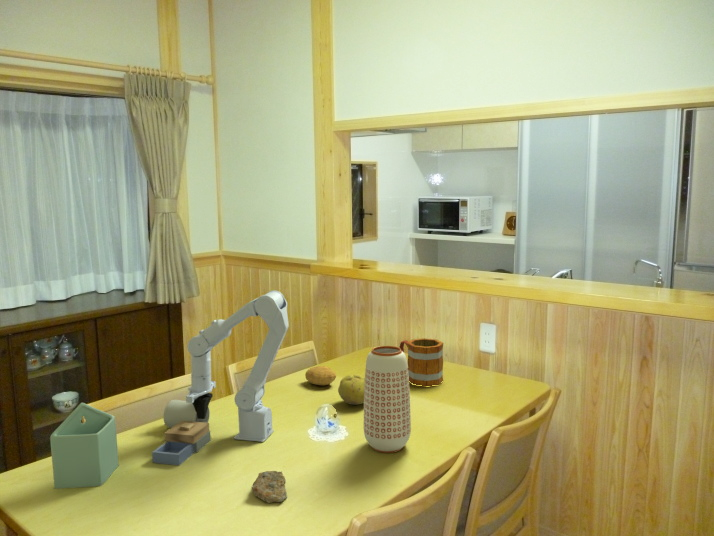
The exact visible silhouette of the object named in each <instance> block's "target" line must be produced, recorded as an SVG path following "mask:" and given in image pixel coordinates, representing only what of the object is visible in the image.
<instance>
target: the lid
mask: <svg viewBox="0 0 714 536" xmlns="http://www.w3.org/2000/svg"><path fill="white" fill-rule="evenodd" d="M209 431H210V423H209V422H208V423H204V422H192V421H180V422H179V423H177V424H176V425H174V426H173V427H172V428H169V429H168V430H166V431H165V432H164V442H166V441H170V442H180V443H191V444H194V443H195V442H197V441H198V440H199V439H200V438H201V437H203V436H204V435H205V434H206V433H207V432H209Z"/></svg>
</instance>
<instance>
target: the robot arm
mask: <svg viewBox="0 0 714 536" xmlns="http://www.w3.org/2000/svg"><path fill="white" fill-rule="evenodd" d="M258 316H259V317H260V318H261V319H262V320H263V321H264V322H265V324H266V325H267V327H268V329H269V330H268V332H267V333H266V335H265V336H266V337H265V339H264V341H263V343H262V345H261V348H260V350H259V353H258V354H257V357H256V359H255V361H254V363H253V366H252V368H251V370H250V373H249V376H248V377H247V378H246V380H245V382H244V384H243V385H242V387H241V389H240V390H238V391H237V392H236V393H235V395H234V403H235V406H236V407H237V409H238V410H237V412H238V433H237V434H236V435H235V436H234V437H233V439H234V440H241V441H249V442H250V441H251V442H260V443H261V442H262V443H263V442H265V441H266V440H267V439H268V438H269V437H270V435H271V434H273V432H274V429H273V411H272V409H271V408H270V407H267V406H264V405H263V401H262V399H263V397H264V396H265V391H266V390H265V385H266V383H267V377H268V375H269V372H270V371H271V367H272V366H273V364H274V361H275V359H276V357H277V354H278V352H279V351H280V348H281V345H282V344H283V341H284V339H285V336H286V335H287V331H288V329H289V323H290V322H289V318H288V317H289V316H288V302H287V299H286V298H285V296H284V294H283V293H282V292H280V291H279V290H269V291H267V293H265V294H262V295H260V296H259V297H256V298H255V299H253V300H251V301H248V302H247V303H246V304H244V305H242V306H241V307H240V308H239V309H238V310H237V311H235V312H234V313H232V315H230V316H229V317H227V318H226V319H221V318H219V319H214V320H213V321H211V322H210V325H208V327H206V328H204V329H201V330H200V331H198V333H199V334H197V335H195V336H192V337H191V338H190V339H189V340H188V342H187V351H188V353H189V354H190V380H191V381H190V383H191V386H189V387H188V388H187V390H188V391H189V392H188V394H187V395H185V401H186V403H192V404H193V405H194V408H195V411H196V412H197V418H198V419H205V417H206V414H207V409H208V407H209V406H210V403H211V400H212V398H213V393H212V391H213V389H215V388H216V387H217V386H216V383H217V382H216V381H215V380H214V381H213V380H212V363H211V362H212V357H211V355H212V352H211V351H212V349H213V348H214V347H216V346H217V345H218V344H221V342H223V341H224V340H225V339H227V338H229V337H231V334H232V329H234V327H237V326H238V325H239V324H240V323H242V322H243V321H245V320H246V319H248V318H249V317H258Z"/></svg>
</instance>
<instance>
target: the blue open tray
mask: <svg viewBox="0 0 714 536" xmlns="http://www.w3.org/2000/svg"><path fill="white" fill-rule="evenodd" d="M151 453H152V454H151V456H152V463H155V464H163V465H172V466H180V465H182V464H183V463H184V462H185V461H187V459H189V458H190V457H191V456H192V455H193V454H194V453H196V452H195V451H194V444H191V443H180V442H170V441H164V442H163V443H162V444H160V445H159V446H158V447H157V448H156V449H154V450H153V451H151Z"/></svg>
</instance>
